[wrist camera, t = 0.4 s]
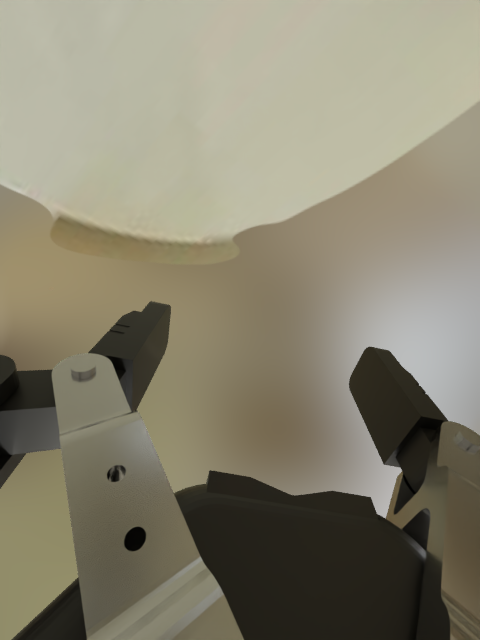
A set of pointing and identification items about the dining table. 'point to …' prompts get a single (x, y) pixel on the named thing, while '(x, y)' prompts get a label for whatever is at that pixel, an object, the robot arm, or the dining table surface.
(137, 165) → the dining table surface
